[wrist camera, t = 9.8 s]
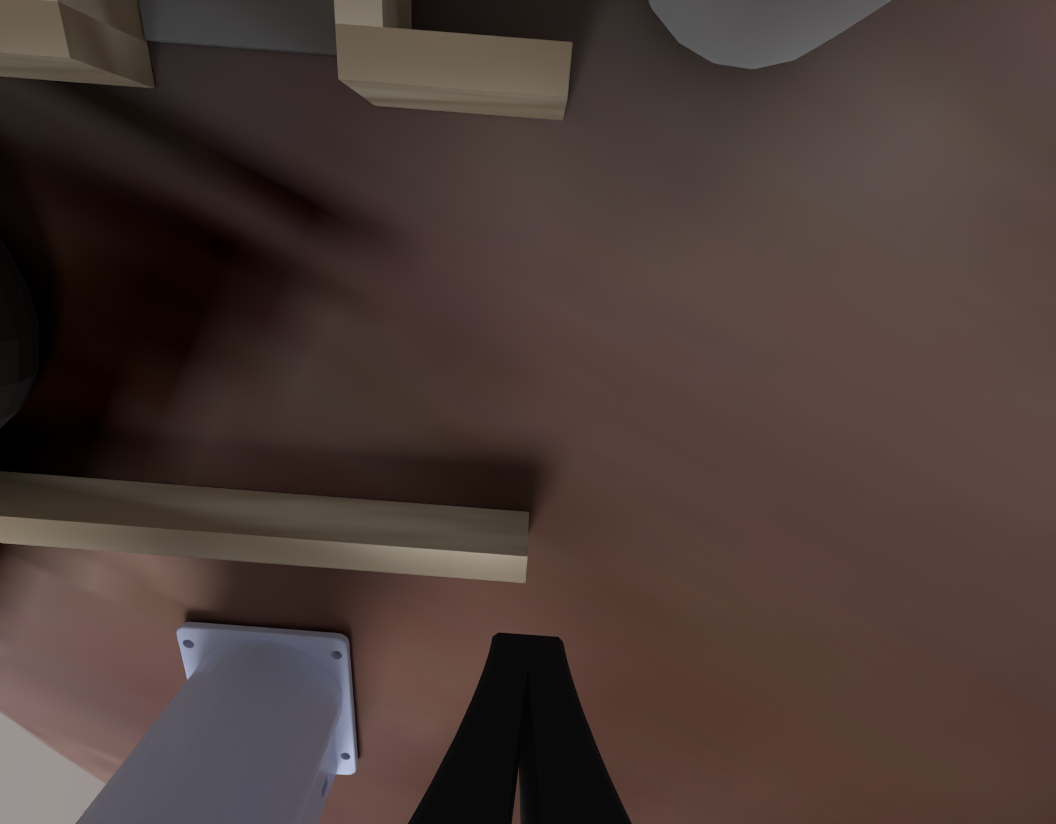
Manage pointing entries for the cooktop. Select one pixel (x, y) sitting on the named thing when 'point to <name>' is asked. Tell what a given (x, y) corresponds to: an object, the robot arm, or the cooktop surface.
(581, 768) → the robot arm
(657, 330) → the cooktop surface
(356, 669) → the cooktop surface
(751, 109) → the cooktop surface
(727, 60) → the can
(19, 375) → the donut
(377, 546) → the beige square zigzag bar
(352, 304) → the cooktop surface
